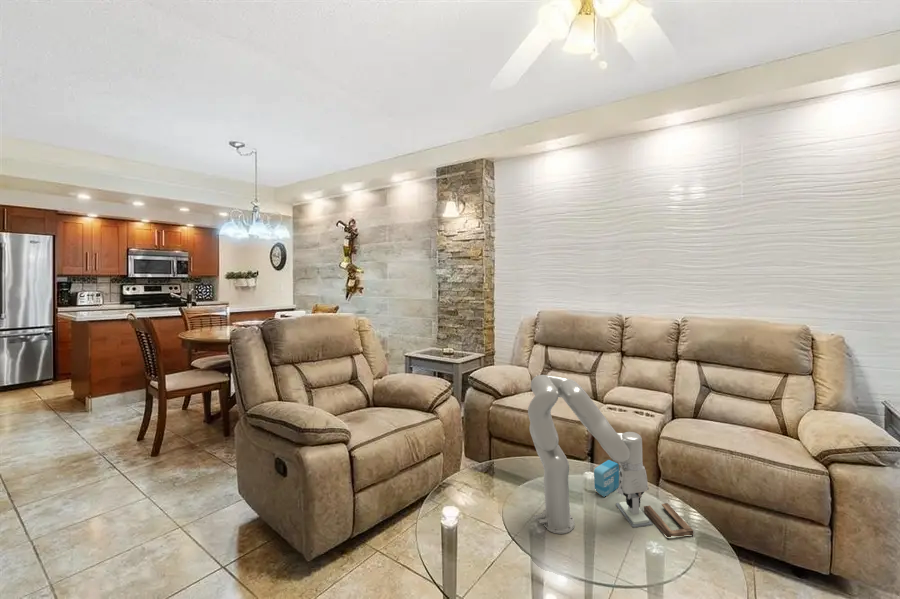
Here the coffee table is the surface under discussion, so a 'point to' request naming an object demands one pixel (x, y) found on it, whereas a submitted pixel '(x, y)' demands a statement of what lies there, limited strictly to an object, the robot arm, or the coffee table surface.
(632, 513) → the cover plate
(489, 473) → the coffee table surface
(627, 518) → the felt pad
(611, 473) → the data package
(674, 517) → the brown u-shaped frame
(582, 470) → the coffee table surface
